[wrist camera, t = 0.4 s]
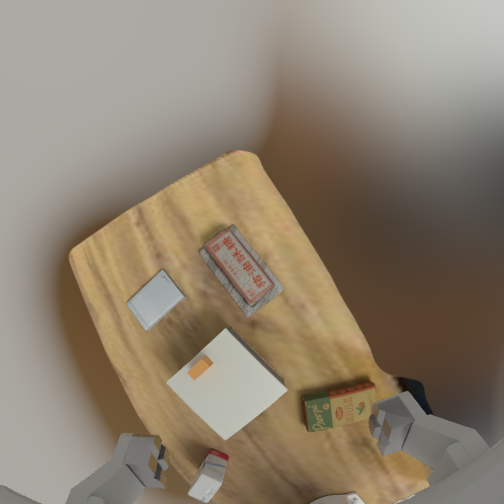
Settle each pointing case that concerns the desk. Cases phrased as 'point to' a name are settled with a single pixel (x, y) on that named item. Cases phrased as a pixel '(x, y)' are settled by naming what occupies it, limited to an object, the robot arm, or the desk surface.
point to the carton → (339, 406)
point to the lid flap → (226, 385)
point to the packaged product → (240, 270)
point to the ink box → (209, 476)
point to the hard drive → (155, 300)
